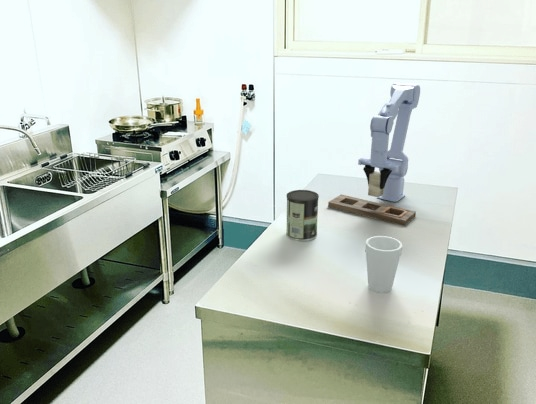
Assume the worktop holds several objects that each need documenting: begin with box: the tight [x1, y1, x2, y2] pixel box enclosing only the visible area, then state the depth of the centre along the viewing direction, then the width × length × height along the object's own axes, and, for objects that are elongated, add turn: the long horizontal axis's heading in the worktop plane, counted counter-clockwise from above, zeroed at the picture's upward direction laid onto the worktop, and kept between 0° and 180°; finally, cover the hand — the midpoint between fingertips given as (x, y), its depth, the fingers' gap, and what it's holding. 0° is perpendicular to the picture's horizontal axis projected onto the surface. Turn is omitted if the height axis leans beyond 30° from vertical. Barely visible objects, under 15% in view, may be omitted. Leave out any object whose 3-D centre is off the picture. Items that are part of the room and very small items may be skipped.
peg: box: [367, 170, 384, 198], centre depth 189 cm, size 4×4×8 cm
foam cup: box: [364, 235, 403, 294], centre depth 141 cm, size 10×9×13 cm
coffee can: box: [286, 189, 320, 242], centre depth 172 cm, size 10×10×14 cm
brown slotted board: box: [327, 193, 417, 227], centre depth 193 cm, size 10×30×2 cm, turn 55°
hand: (376, 187), depth 189 cm, fingers closed on peg, 4 cm apart
